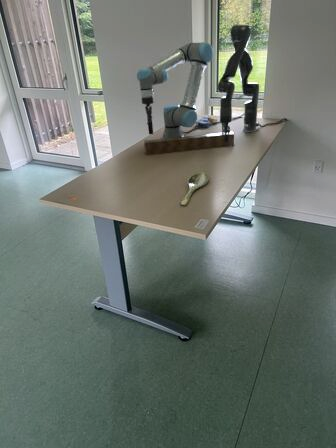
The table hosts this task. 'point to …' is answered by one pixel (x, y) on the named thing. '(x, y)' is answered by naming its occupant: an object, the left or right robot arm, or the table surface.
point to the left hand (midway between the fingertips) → (150, 131)
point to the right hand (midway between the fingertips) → (225, 140)
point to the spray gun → (206, 121)
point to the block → (188, 143)
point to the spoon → (195, 184)
